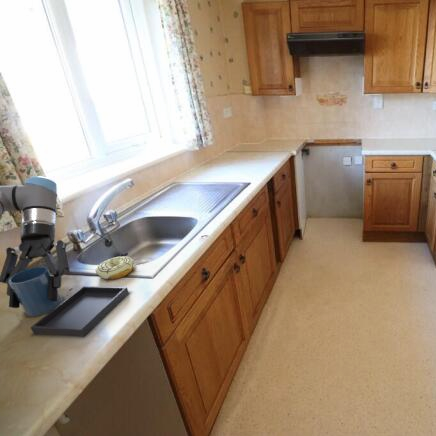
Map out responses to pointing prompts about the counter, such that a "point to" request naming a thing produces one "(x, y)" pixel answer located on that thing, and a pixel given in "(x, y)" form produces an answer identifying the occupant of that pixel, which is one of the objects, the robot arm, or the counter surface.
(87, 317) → the serving tray
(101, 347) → the counter surface
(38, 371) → the counter surface
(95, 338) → the counter surface
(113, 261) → the decorated donut
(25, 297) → the tea cup
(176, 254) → the counter surface
